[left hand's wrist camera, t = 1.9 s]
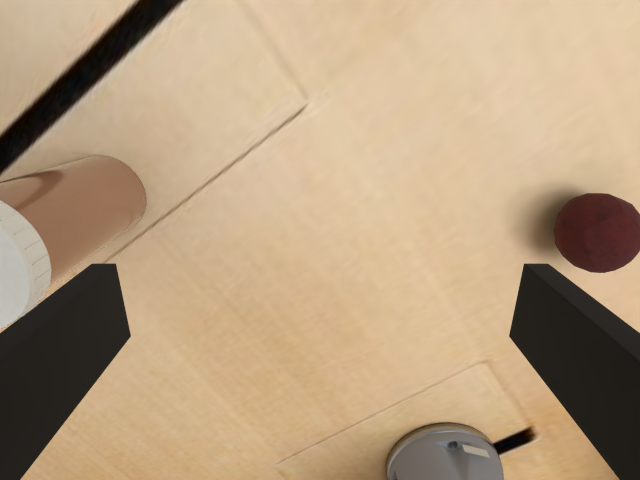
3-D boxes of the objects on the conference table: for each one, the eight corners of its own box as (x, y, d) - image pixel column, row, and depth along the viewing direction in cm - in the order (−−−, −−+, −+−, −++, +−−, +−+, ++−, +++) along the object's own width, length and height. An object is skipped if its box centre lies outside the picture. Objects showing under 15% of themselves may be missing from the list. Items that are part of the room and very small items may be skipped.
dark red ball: (555, 265, 43) (598, 297, 36) (527, 209, 41) (568, 232, 34) (621, 230, 41) (678, 257, 35) (596, 170, 39) (652, 186, 33)
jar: (160, 188, 40) (49, 256, 23) (123, 245, 42) (-3, 344, 26) (88, 138, 38) (-87, 174, 22) (53, 201, 40) (-129, 276, 24)
